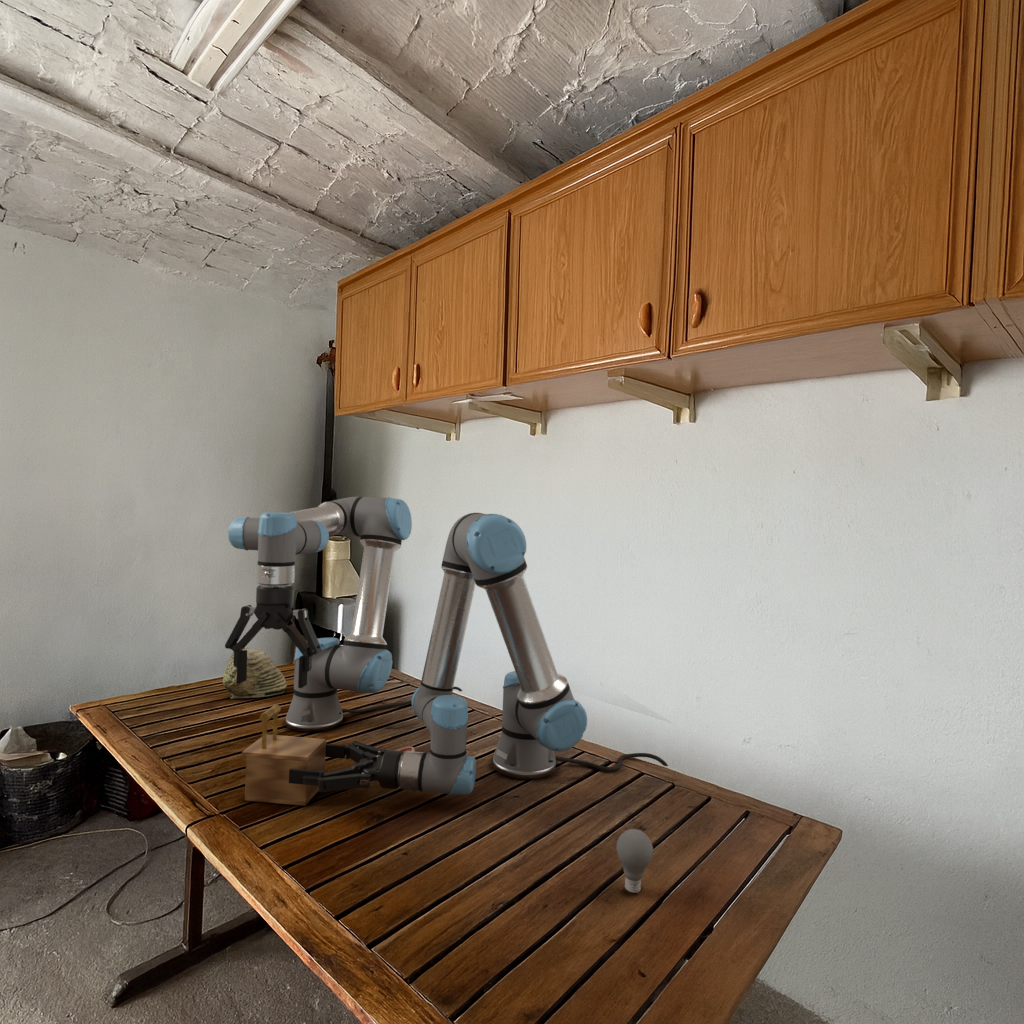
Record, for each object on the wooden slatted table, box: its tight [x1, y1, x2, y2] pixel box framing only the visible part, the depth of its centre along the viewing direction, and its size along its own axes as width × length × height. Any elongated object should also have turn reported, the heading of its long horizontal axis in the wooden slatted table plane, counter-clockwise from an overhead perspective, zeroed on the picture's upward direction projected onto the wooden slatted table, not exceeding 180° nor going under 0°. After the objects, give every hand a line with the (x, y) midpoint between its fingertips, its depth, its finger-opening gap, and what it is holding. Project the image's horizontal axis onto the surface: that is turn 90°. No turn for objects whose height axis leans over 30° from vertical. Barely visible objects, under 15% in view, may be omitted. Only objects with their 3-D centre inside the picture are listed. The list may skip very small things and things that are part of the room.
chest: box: [244, 742, 327, 807], centre depth 135 cm, size 13×10×9 cm
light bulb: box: [615, 828, 654, 894], centre depth 106 cm, size 6×6×10 cm
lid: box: [241, 704, 327, 761], centre depth 135 cm, size 14×10×8 cm
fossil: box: [222, 646, 288, 699], centre depth 198 cm, size 9×18×15 cm, turn 132°
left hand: (271, 684), depth 135 cm, fingers open, 13 cm apart
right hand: (303, 761), depth 134 cm, fingers open, 13 cm apart
